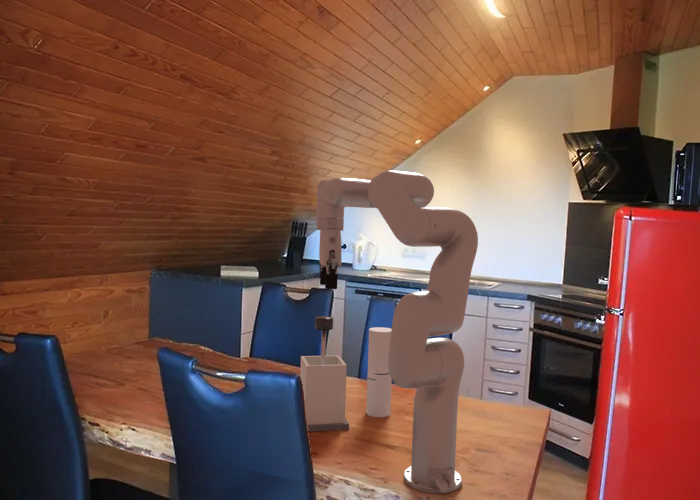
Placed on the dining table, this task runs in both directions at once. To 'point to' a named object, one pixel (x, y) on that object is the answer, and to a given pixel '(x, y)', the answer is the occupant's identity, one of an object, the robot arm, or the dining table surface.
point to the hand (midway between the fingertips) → (328, 286)
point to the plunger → (323, 332)
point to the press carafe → (324, 392)
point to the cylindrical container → (378, 373)
